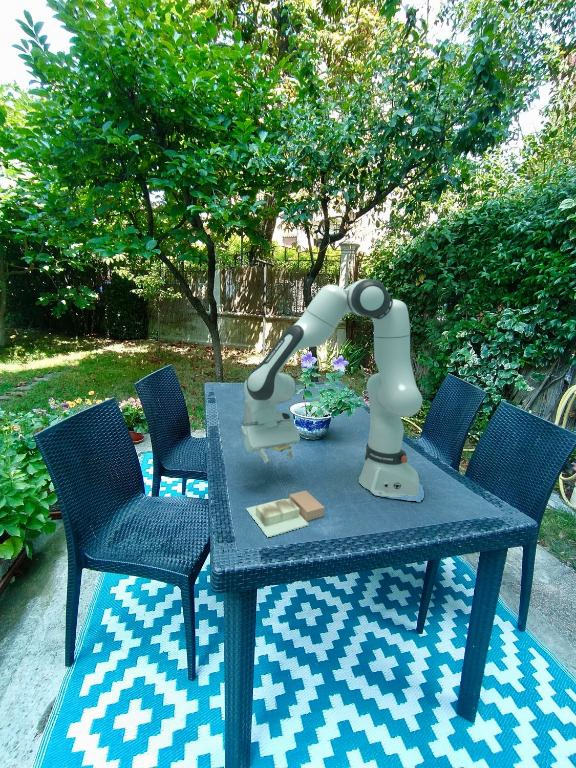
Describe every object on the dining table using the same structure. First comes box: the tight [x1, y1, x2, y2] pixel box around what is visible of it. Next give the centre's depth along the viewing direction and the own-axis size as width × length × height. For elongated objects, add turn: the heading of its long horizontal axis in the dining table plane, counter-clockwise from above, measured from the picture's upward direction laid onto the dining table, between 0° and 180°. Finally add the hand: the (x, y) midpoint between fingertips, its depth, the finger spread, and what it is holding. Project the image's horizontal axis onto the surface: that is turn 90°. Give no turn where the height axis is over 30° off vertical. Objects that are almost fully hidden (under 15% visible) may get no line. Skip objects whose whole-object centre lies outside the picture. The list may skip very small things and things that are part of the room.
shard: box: [269, 446, 288, 452], centre depth 151 cm, size 11×8×2 cm
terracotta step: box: [288, 490, 325, 522], centre depth 106 cm, size 10×6×3 cm, turn 30°
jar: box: [243, 398, 253, 424], centre depth 169 cm, size 10×10×18 cm
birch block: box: [255, 498, 300, 526], centre depth 101 cm, size 6×2×11 cm
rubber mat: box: [245, 498, 310, 539], centre depth 101 cm, size 14×13×1 cm
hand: (279, 459), depth 113 cm, fingers open, 8 cm apart
